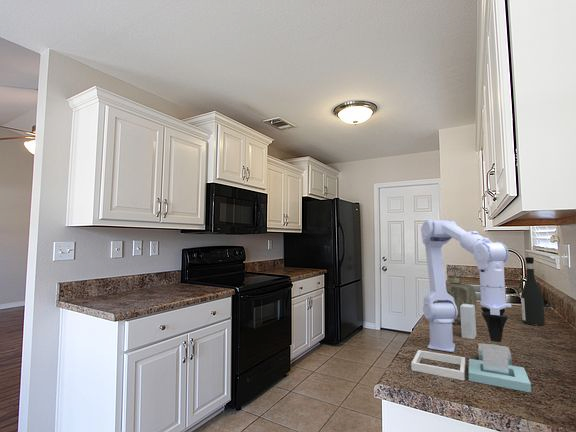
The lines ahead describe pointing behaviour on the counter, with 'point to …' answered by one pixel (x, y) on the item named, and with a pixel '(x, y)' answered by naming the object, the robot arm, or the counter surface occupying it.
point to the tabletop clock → (460, 292)
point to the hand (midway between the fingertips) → (495, 337)
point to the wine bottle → (532, 298)
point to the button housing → (482, 354)
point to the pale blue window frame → (500, 377)
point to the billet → (495, 359)
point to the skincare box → (468, 321)
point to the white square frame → (435, 369)
